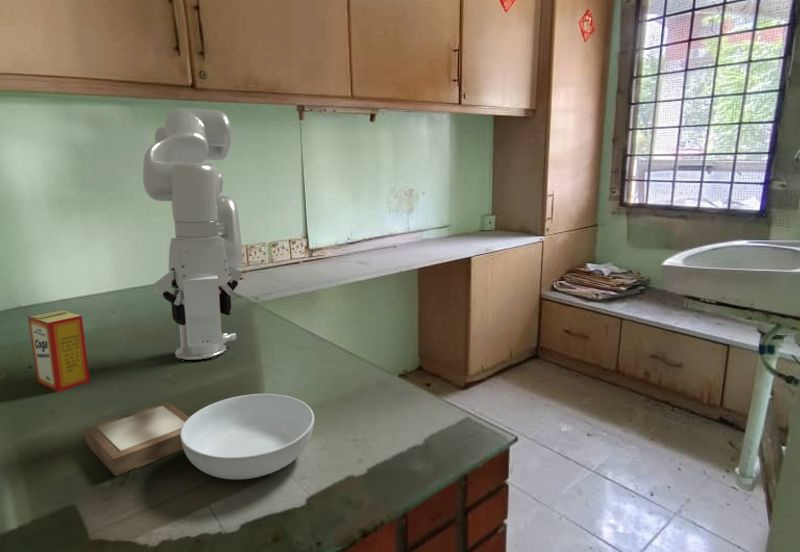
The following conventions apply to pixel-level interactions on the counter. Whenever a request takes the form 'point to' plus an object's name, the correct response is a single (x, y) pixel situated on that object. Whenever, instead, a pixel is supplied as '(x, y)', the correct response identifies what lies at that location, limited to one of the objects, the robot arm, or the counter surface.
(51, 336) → the baking soda box
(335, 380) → the counter surface
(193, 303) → the small box
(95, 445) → the picture frame
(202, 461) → the serving bowl
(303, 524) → the counter surface
